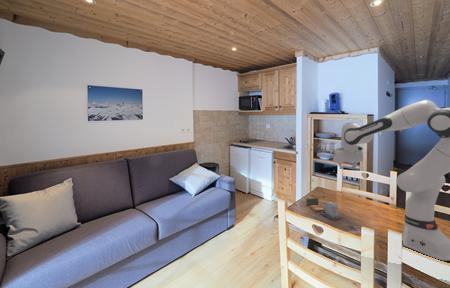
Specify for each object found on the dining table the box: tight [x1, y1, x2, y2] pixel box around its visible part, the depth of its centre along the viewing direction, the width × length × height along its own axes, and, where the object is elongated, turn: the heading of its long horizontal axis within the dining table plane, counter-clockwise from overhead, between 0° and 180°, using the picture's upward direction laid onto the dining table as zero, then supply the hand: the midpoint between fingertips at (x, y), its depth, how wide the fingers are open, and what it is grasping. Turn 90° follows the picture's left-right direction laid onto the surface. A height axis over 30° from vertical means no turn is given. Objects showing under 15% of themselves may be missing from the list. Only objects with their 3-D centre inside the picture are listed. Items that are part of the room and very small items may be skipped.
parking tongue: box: [319, 211, 342, 221], centre depth 146 cm, size 12×7×2 cm, turn 13°
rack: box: [305, 197, 325, 213], centre depth 160 cm, size 12×9×6 cm
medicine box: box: [324, 201, 339, 217], centre depth 146 cm, size 8×4×9 cm, turn 4°
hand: (347, 168), depth 144 cm, fingers open, 8 cm apart
